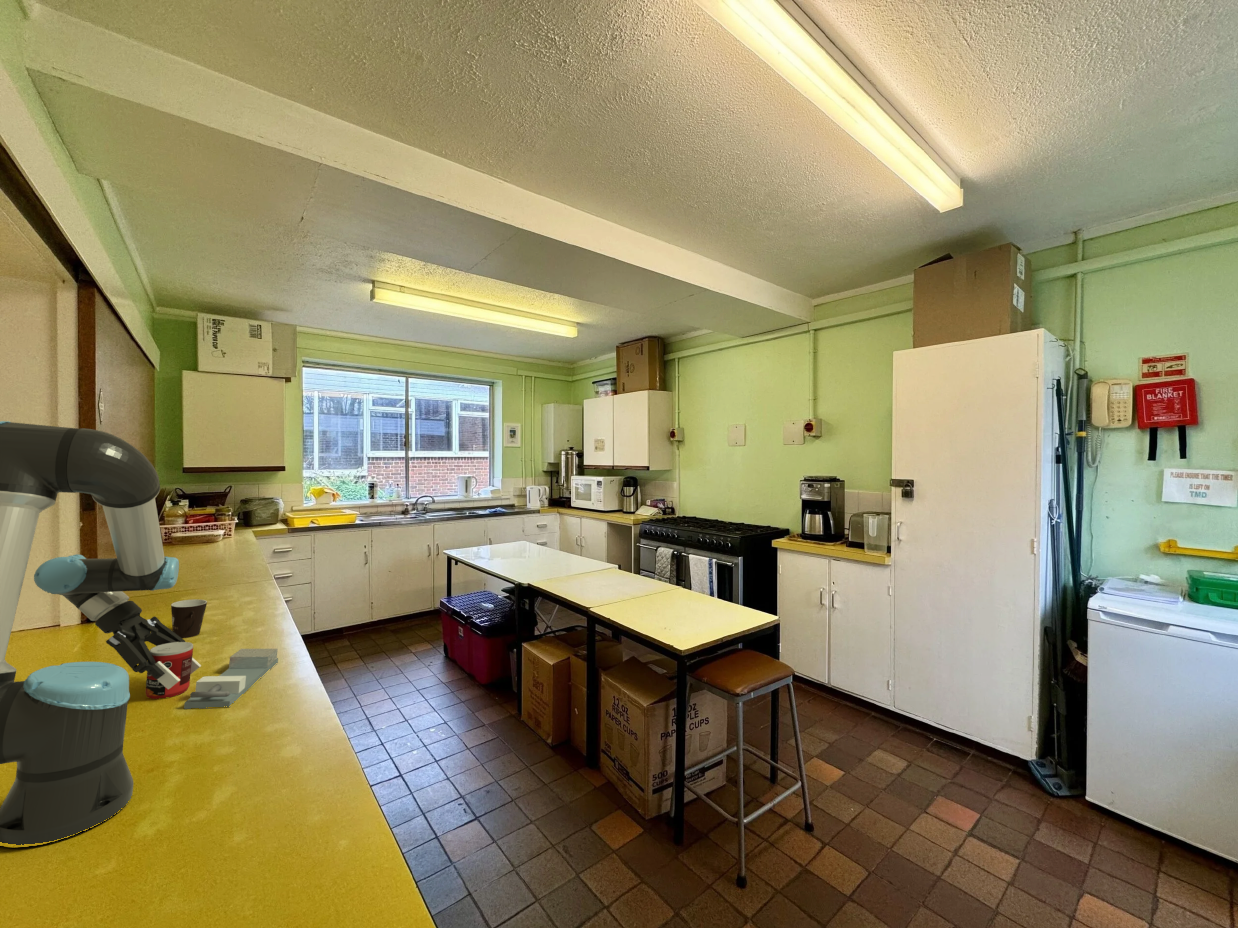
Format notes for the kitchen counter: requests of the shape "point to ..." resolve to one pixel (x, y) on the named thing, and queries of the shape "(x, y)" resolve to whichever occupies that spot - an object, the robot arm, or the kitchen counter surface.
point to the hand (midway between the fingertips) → (185, 676)
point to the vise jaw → (253, 658)
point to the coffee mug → (187, 617)
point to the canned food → (171, 669)
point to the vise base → (231, 697)
